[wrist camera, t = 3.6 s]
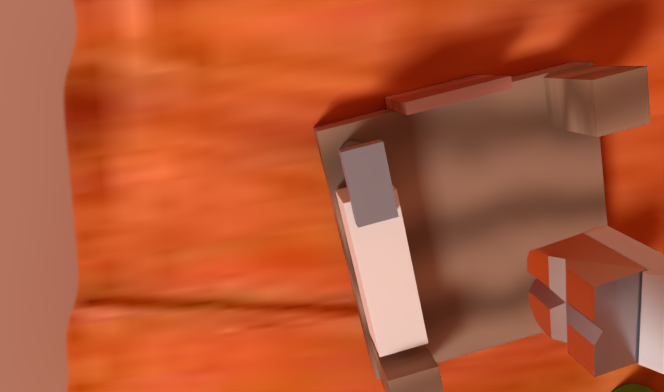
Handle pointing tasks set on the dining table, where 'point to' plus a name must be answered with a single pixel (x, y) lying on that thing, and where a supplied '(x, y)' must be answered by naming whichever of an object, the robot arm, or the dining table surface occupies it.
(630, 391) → the cup
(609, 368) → the robot arm
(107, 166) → the dining table surface
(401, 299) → the hinged leg
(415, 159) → the stool board
